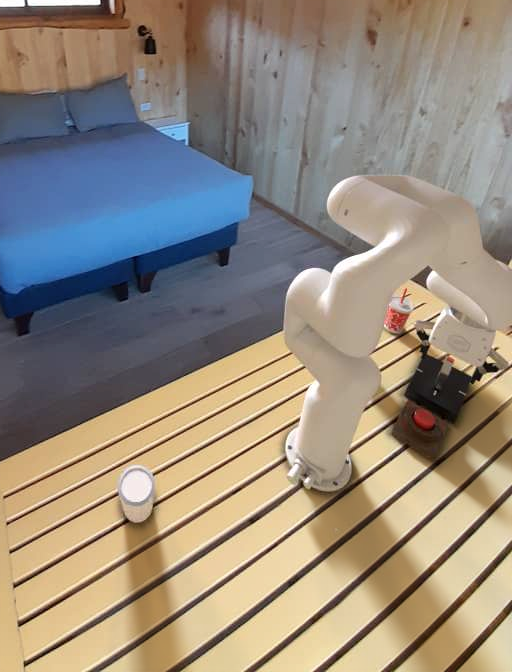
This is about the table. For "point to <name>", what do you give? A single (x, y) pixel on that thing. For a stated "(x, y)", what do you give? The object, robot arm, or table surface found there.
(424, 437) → the button block
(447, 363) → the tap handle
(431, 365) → the black lever switch base
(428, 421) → the button
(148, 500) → the white lidded tub
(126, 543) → the table surface
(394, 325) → the beverage cup
